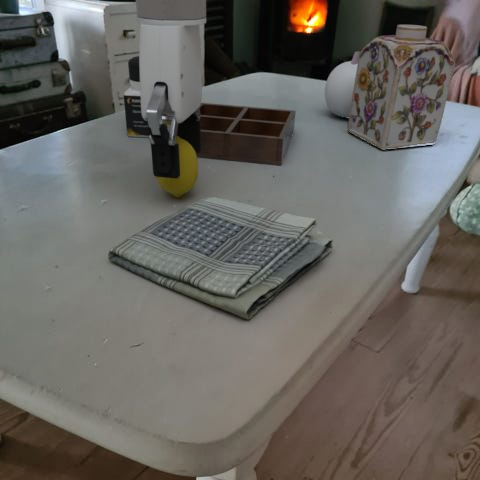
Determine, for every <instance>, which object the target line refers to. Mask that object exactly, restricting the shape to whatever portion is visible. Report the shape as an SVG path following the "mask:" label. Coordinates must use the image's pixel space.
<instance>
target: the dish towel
mask: <svg viewBox="0 0 480 480" xmlns="http://www.w3.org/2000/svg"><path fill="white" fill-rule="evenodd" d="M317 225H318V222H317V219H316V218H312V217H307V216H303V215H302V216H301V215H300V216H298V215H295V214H291V213H287V212H282V211H278V210H274V209H271V208H265V207H260V206H256V205H252V204H248V203H244V202H239V201H235V200H234V201H233V200H231V199H225V198H220V197H216V196H213V195H210V196H207V197H204V198H200V199H199V200H196V201H194V202H192V203H190V204H188V205H186V206H184V207H183V208H181V209H179V210H177V211H175V212H173V213H172V214H169V215H168V216H165V217H163V218H162V219H160V220H158V221H155V222H154V223H152V224H150V225H148V226H147V227H145V228H143V229H142V230H140V231H138V232H137V233H134V234H133V235H131V236H129V237H127V238H126V239H124V240H123V241H121V242H119V243H117V244H116V245H115V246H113V247H111V248H110V249H109V250H108V255H107V258H108V260H109V261H110V262H114V263H116V264H117V265H119V266H121V267H123V268H124V269H126V270H129V271H130V272H132V273H134V274H137V275H139V276H141V277H143V278H145V279H147V280H149V281H152V282H154V283H156V284H159V285H161V286H163V287H166V288H168V289H171V290H174V291H175V292H178V293H181V294H182V295H185V296H188V297H190V298H193V299H195V300H198V301H200V302H203V303H205V304H207V305H210V306H213V307H216V308H219V309H221V310H224V311H225V312H229V313H231V314H233V315H235V316H238V317H240V318H242V319H245V320H250V319H252V317H253V316H255V315H256V313H258V311H259V310H260V309H262V308H264V307H266V305H267V304H269V303H270V301H272V300H273V299H274V298H275V297H276V296H277V295H278V294H279V293H280V291H282V290H284V289H285V288H287V286H289V285H291V284H293V283H294V282H295V281H297V280H298V278H300V276H302V275H303V274H304V273H306V271H308V270H309V269H310V268H311V267H313V266H314V265H315V264H317V263H318V262H320V261H321V260H323V258H324V257H326V256H327V255H329V254H330V252H331V250H333V241H334V240H333V239H332V238H328V237H321V236H314V235H309V233H311V232H312V230H313V229H315V228H316V227H317Z"/></svg>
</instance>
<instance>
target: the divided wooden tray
mask: <svg viewBox="0 0 480 480" xmlns="http://www.w3.org/2000/svg"><path fill="white" fill-rule="evenodd" d="M199 110H200V120H199V121H200V127H201V151H200V152H199V153H196V156H197V158H201V159H202V158H203V159H213V160H223V161H233V162H242V163H253V164H262V165H273V166H282V165H283V162H284V159H285V157H284V156H286V154H287V152H288V149H289V147H288V145H289V146H290V144H291V141H292V139H291V137H292V138H293V136H292V134H293V135H294V133H293V131H295V122H296V110H291V109H282V108H281V109H280V108H269V107H258V106H257V107H256V106H246V105H245V106H244V105H234V104H233V105H232V104H221V103H210V102H201V104H200V106H199ZM290 140H291V141H290ZM289 143H290V144H289ZM287 148H288V149H287ZM286 151H287V152H286ZM285 153H286V154H285Z"/></svg>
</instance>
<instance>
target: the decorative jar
mask: <svg viewBox="0 0 480 480" xmlns="http://www.w3.org/2000/svg"><path fill="white" fill-rule="evenodd" d="M427 31H428V27H427V26H426V25H425V26H424V25H417V24H397V26H396V31H395V34H389V35H380V36H377V37H374V38H373V39H372V40H371V41H369V43H368V44H366V45H365V46H364V47H363V48H362V50H361V51H359V52H360V54H359V61H358V66H357V71H356V77H355V84H354V89H353V95H352V102H351V109H350V116H349V118H348V125H347V132H348V131H350V132H351V133H353V134H355V135H357V136H359V137H361V138H363V139H365V140H366V141H368V142H370V143H372V144H374V145H376V146H377V147H379V148H381V149H387V148H398V147H403V146H410V145H417V144H426V143H434V142H435V143H436V142H437V139H438V136H439V132H440V128H441V124H442V120H443V117H444V112H445V109H446V108H445V107H446V104H447V100H448V96H449V93H450V88H451V84H452V79H453V75H454V71H455V66H456V61H455V59H454V56H453V55H452V52H451V51H450V48H449V47H448V45H447V43H446V42H444V41H442V40H438V39H435V38H432V37H431V38H430V37H427Z"/></svg>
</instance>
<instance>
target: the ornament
mask: <svg viewBox="0 0 480 480" xmlns="http://www.w3.org/2000/svg"><path fill="white" fill-rule="evenodd" d="M360 52H361V51H354V52H353V53H354V54H353V56H352V59H351V60H350V61H349V60H348V61H346V62H342V63H340V64H339V65H337V66H336V67H334V68H333V69H332V70H331V72H330V73H329V75H328V77H327V79H326V82H325V86H324V100H325V103H326V105H327V108H328V109H329V110H330V111H331V113H333V114H334V115H336V116H338V115H339V116H338V117H340V116H343V117H349V116H350V109H351V102H352V95H353V89H354V84H355V77H356V71H357V66H358V61H359V54H360ZM343 117H342V118H343Z"/></svg>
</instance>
